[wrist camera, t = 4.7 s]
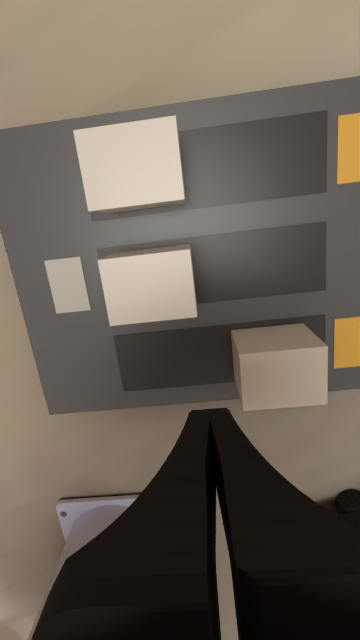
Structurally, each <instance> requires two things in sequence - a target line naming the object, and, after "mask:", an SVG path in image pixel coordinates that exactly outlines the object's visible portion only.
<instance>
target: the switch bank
mask: <svg viewBox="0 0 360 640" xmlns="http://www.w3.org/2000/svg"><path fill="white" fill-rule="evenodd" d="M175 115H176V121H177V127H178V133H179V140H180V150H181V159H182V169H183V178H184V187H185V197H186V204H178V205H170V206H162V207H154V208H146V209H138V210H131V211H123V212H115V213H100V212H89V211H88V207H87V202H86V196H85V191H84V186H83V180H82V175H81V170H80V165H79V159H78V154H77V149H76V143H75V138H74V133H73V130H79V129H85V128H92V127H99V126H106V125H113V124H120V123H127V122H133V121H140V120H147V119H154V118H161V117H168V116H175ZM0 229H1V233H2V237H3V241H4V245H5V248H6V252H7V256H8V260H9V263H10V267H11V271H12V275H13V278H14V282H15V286H16V290H17V294H18V297H19V301H20V305H21V309H22V312H23V316H24V320H25V324H26V327H27V331H28V335H29V339H30V343H31V346H32V350H33V354H34V358H35V361H36V365H37V369H38V373H39V376H40V380H41V384H42V388H43V391H44V395H45V399H46V403H47V407H48V410H49V414H50V415H52V414H64V413H76V412H87V411H99V410H111V409H123V408H134V407H146V406H158V405H170V404H182V403H193V402H205V401H217V400H229V399H240V397H239V393H238V389H237V386H236V382H235V378H234V365H233V352H232V339H231V330H239V329H249V328H259V327H269V326H279V325H289V324H299V323H303V324H305V325H306V326H307V327H308V328H309V329H310V330H311V331H312V332H313V333H314V334H315V335H316V336H317V337H319V338H320V339H321V340H322V341H323V342H324V343H325V344H326V345H327V346H328V386H327V391H335V390H347V389H358V388H360V76H358V77H351V78H344V79H337V80H331V81H324V82H317V83H310V84H304V85H297V86H290V87H284V88H277V89H270V90H263V91H257V92H250V93H243V94H236V95H230V96H223V97H216V98H209V99H203V100H196V101H189V102H182V103H176V104H169V105H162V106H155V107H149V108H142V109H135V110H129V111H122V112H115V113H108V114H102V115H95V116H88V117H81V118H75V119H68V120H61V121H54V122H48V123H41V124H34V125H27V126H21V127H14V128H7V129H1V130H0ZM183 244H191V253H192V263H193V272H194V281H195V291H196V302H197V317H194V318H184V319H174V320H164V321H155V322H145V323H135V324H126V325H116V326H110V324H109V319H108V313H107V308H106V303H105V297H104V292H103V287H102V281H101V276H100V271H99V265H98V260H99V259H101V258H104V257H106V256H109V255H111V254H113V253H116V252H124V251H132V250H141V249H149V248H158V247H166V246H175V245H183Z"/></svg>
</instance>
